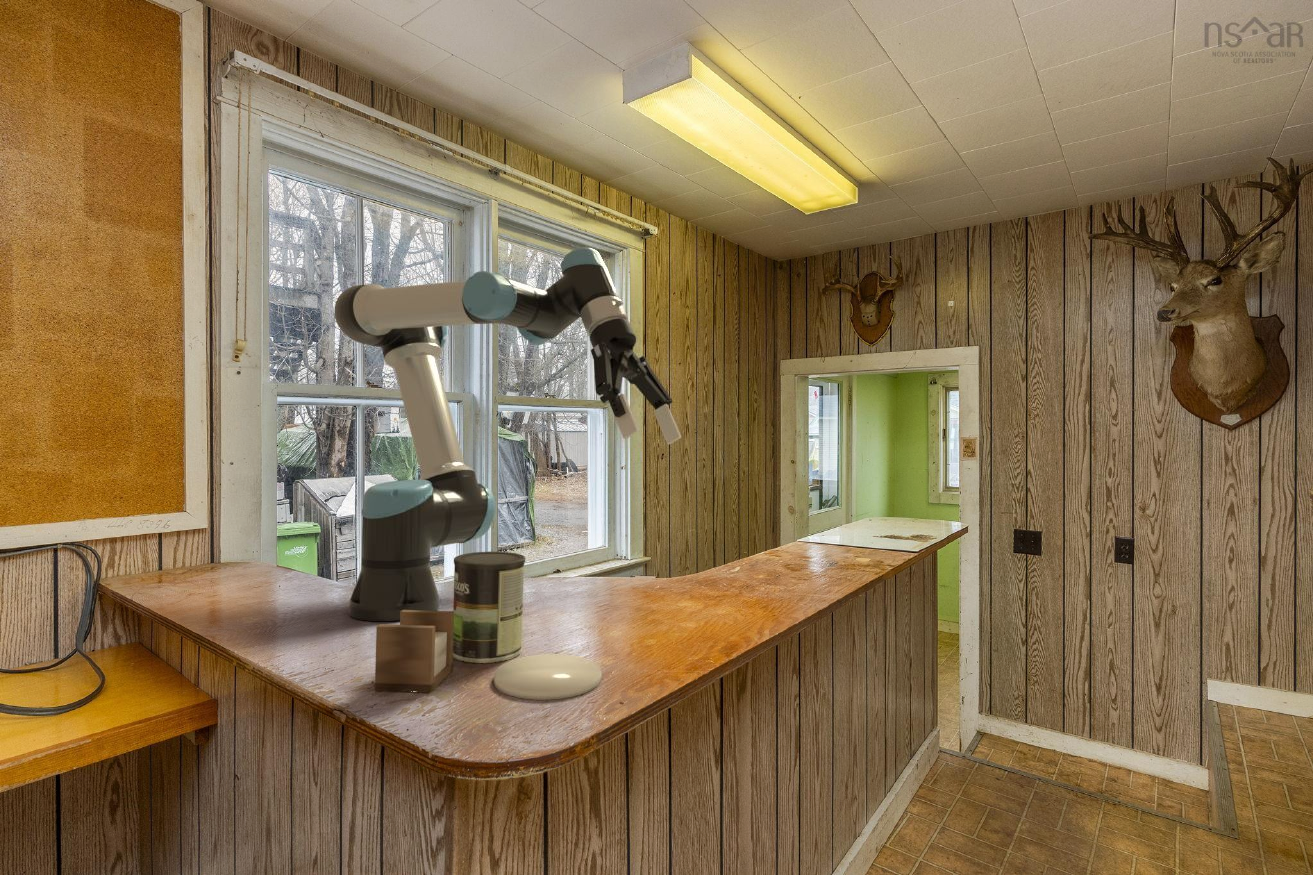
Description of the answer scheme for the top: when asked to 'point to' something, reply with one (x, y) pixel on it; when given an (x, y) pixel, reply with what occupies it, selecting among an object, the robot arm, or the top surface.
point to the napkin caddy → (414, 651)
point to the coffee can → (488, 606)
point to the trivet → (547, 676)
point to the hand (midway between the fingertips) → (654, 438)
